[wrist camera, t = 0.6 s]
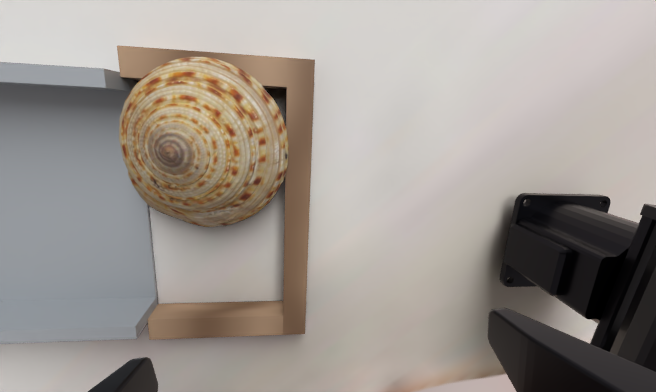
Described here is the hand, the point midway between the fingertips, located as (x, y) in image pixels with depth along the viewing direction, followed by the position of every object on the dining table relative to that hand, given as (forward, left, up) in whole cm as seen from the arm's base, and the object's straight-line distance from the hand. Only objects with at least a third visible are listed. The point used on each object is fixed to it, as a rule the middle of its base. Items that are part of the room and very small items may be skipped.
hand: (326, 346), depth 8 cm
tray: (+16, 0, -12) cm, 20 cm away
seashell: (+5, 0, -12) cm, 13 cm away
